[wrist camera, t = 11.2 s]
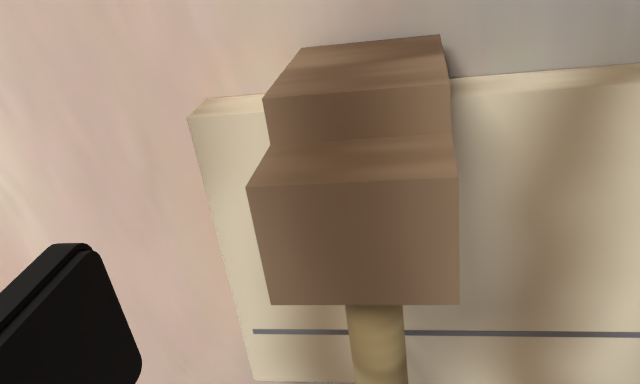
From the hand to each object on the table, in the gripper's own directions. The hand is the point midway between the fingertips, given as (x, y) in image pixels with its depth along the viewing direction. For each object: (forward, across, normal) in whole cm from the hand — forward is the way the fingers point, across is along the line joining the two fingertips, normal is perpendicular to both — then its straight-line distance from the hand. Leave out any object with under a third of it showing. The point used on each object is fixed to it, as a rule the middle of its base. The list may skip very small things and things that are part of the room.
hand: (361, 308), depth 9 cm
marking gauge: (+10, +1, +4) cm, 11 cm away
